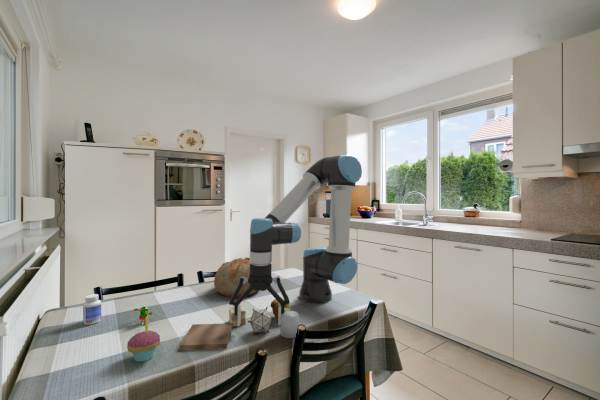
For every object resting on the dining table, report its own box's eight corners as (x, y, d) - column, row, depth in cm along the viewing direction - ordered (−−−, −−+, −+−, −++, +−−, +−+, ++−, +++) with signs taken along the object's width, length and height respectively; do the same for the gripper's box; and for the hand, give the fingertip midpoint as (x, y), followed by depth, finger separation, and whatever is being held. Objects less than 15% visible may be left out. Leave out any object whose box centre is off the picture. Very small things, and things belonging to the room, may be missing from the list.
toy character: (143, 334, 98) (143, 314, 98) (120, 327, 103) (120, 308, 102) (169, 321, 108) (169, 303, 108) (147, 315, 113) (147, 298, 112)
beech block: (242, 318, 110) (242, 305, 110) (245, 324, 105) (245, 310, 105) (229, 321, 108) (229, 307, 108) (231, 326, 103) (231, 313, 103)
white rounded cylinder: (297, 330, 102) (297, 310, 102) (299, 338, 96) (299, 318, 96) (280, 330, 101) (280, 311, 101) (281, 339, 95) (281, 318, 95)
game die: (263, 344, 98) (267, 329, 92) (242, 333, 100) (244, 318, 94) (275, 322, 105) (279, 307, 99) (254, 312, 107) (257, 296, 101)
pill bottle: (104, 320, 107) (104, 294, 107) (90, 326, 102) (90, 299, 102) (94, 317, 109) (94, 292, 109) (79, 323, 104) (79, 297, 104)
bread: (228, 279, 159) (229, 252, 159) (269, 282, 156) (269, 254, 155) (206, 296, 133) (206, 264, 133) (254, 300, 129) (254, 267, 129)
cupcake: (136, 349, 87) (136, 310, 87) (165, 348, 88) (165, 310, 88) (121, 366, 79) (121, 323, 79) (153, 365, 79) (153, 322, 79)
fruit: (275, 325, 105) (275, 303, 104) (266, 316, 112) (267, 296, 112) (293, 321, 108) (293, 300, 108) (284, 312, 115) (284, 293, 115)
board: (232, 327, 102) (232, 323, 102) (226, 348, 89) (226, 343, 89) (192, 328, 101) (192, 324, 101) (179, 350, 87) (179, 345, 87)
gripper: (296, 260, 104) (294, 318, 104) (225, 260, 101) (223, 320, 102) (298, 265, 96) (296, 328, 97) (221, 265, 94) (220, 329, 94)
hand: (259, 324), depth 99 cm, fingers open, 13 cm apart
